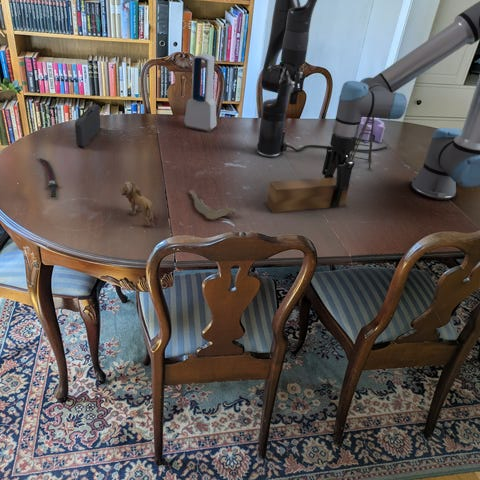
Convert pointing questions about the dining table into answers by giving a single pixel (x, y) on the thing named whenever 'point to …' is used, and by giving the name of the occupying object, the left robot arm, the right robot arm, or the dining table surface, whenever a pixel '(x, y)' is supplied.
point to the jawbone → (207, 211)
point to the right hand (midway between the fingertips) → (329, 201)
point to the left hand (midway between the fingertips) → (287, 100)
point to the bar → (302, 194)
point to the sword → (52, 181)
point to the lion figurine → (137, 201)
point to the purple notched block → (377, 129)
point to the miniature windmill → (364, 140)
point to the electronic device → (200, 107)
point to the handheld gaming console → (87, 125)
